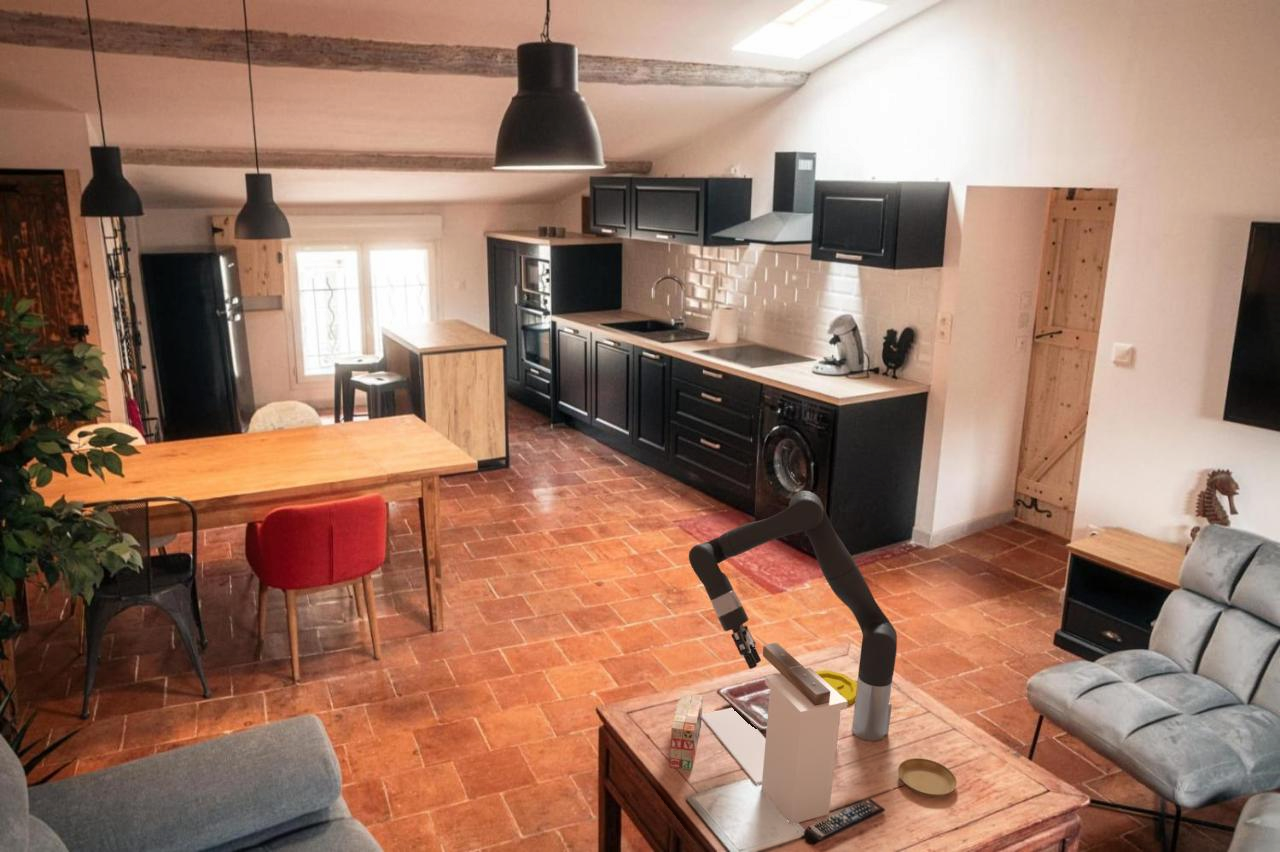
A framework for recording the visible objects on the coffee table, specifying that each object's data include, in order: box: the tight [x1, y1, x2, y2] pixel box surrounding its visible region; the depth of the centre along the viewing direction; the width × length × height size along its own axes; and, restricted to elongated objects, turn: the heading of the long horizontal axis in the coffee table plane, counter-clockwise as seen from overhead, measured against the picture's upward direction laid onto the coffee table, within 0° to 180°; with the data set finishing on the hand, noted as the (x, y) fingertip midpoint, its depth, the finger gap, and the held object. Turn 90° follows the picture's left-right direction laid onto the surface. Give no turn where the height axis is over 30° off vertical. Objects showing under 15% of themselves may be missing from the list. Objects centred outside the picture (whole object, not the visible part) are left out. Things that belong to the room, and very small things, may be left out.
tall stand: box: [761, 667, 848, 825], centre depth 220 cm, size 13×16×32 cm
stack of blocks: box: [668, 693, 703, 771], centre depth 244 cm, size 21×6×12 cm, turn 170°
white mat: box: [702, 707, 766, 785], centre depth 246 cm, size 12×32×1 cm, turn 23°
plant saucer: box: [897, 757, 958, 798], centre depth 233 cm, size 15×15×3 cm
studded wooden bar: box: [762, 642, 830, 706], centre depth 220 cm, size 4×24×3 cm, turn 23°
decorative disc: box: [814, 669, 857, 706], centre depth 274 cm, size 17×18×2 cm
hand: (755, 665), depth 244 cm, fingers open, 8 cm apart
